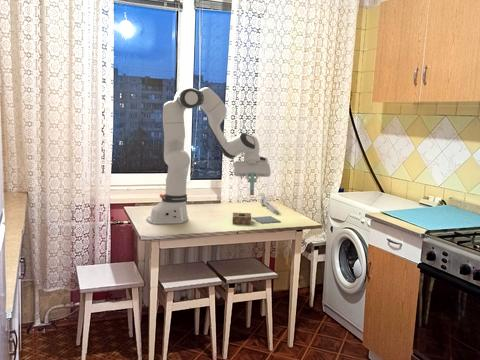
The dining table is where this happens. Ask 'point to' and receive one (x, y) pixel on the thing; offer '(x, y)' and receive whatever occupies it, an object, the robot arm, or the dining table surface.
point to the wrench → (268, 204)
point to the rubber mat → (265, 219)
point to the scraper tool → (251, 183)
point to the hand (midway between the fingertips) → (252, 181)
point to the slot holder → (242, 218)
